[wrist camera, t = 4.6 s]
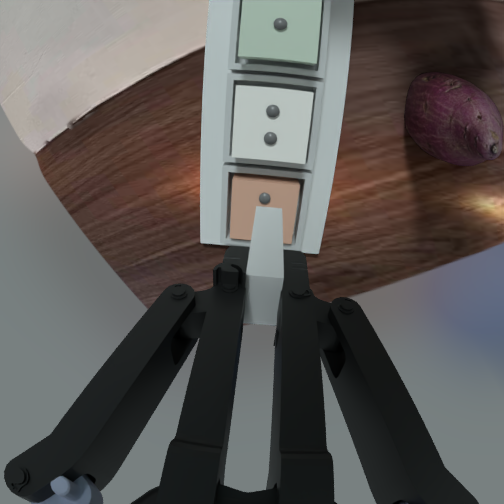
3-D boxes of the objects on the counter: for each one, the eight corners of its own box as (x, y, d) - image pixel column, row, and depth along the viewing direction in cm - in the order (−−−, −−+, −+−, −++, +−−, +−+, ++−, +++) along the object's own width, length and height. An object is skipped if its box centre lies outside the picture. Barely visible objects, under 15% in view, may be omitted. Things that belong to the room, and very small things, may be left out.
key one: (246, -2, 20) (243, -12, 17) (317, 5, 20) (322, -4, 17) (241, 58, 24) (237, 55, 21) (312, 65, 23) (317, 63, 21)
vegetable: (404, 152, 32) (430, 225, 22) (392, 70, 26) (425, 101, 16) (479, 149, 28) (530, 220, 18) (474, 69, 22) (543, 106, 12)
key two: (239, 85, 25) (235, 85, 22) (309, 91, 25) (314, 92, 22) (235, 149, 28) (231, 157, 26) (302, 156, 28) (305, 164, 25)
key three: (236, 170, 31) (232, 180, 28) (297, 176, 31) (300, 186, 28) (233, 225, 34) (229, 239, 32) (290, 230, 34) (291, 245, 32)
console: (213, -17, 21) (206, -28, 18) (352, -4, 21) (360, -13, 18) (202, 238, 37) (196, 254, 34) (317, 249, 37) (321, 266, 34)
